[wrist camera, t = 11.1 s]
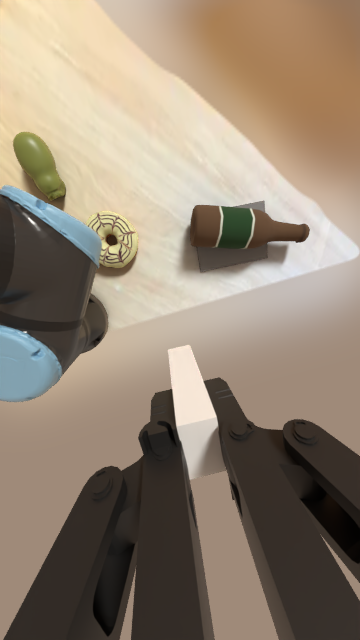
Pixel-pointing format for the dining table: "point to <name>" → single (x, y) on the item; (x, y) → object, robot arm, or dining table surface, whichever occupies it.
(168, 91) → the dining table surface
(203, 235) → the beer bottle
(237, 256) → the mat
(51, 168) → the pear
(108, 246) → the decorated donut
